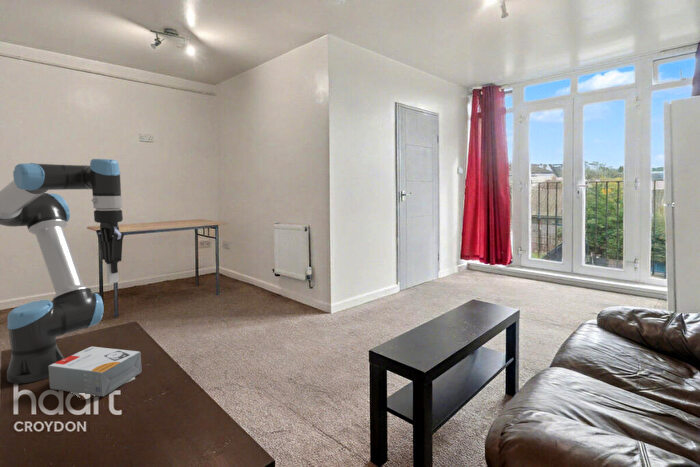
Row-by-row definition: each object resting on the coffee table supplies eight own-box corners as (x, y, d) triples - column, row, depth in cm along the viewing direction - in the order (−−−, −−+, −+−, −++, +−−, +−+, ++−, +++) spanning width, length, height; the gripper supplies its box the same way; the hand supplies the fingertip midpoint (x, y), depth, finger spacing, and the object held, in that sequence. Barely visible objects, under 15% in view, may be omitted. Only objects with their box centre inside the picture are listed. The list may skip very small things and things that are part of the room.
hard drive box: (101, 372, 110) (46, 366, 115) (103, 397, 111) (48, 390, 115) (141, 350, 126) (90, 345, 130) (142, 372, 126) (92, 367, 131)
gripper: (85, 208, 119) (90, 281, 122) (104, 211, 112) (110, 288, 115) (110, 207, 125) (115, 276, 128) (131, 210, 118) (135, 283, 121)
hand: (113, 282), depth 122 cm, fingers closed
